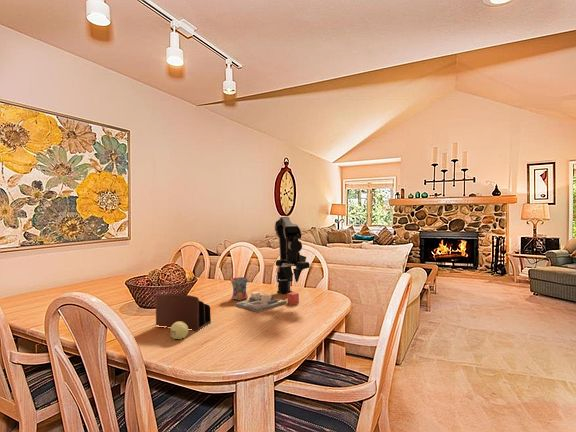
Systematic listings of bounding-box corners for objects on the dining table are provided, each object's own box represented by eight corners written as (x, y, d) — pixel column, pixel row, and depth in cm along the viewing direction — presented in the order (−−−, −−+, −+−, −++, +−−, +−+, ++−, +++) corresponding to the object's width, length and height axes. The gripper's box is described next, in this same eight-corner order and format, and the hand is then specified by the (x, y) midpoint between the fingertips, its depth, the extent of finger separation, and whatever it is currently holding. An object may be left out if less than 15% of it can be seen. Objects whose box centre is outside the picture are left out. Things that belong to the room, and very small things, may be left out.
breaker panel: (264, 297, 180) (264, 292, 180) (286, 303, 168) (286, 297, 168) (235, 305, 166) (235, 299, 166) (257, 312, 155) (257, 306, 155)
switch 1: (255, 298, 173) (255, 291, 173) (260, 299, 171) (259, 292, 171) (251, 299, 171) (250, 292, 171) (255, 301, 169) (255, 293, 169)
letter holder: (198, 331, 132) (197, 295, 131) (155, 328, 137) (154, 293, 137) (211, 323, 141) (210, 290, 141) (170, 320, 147) (169, 288, 146)
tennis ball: (167, 320, 125) (175, 324, 120) (184, 318, 130) (192, 322, 125) (165, 338, 124) (174, 342, 120) (182, 335, 129) (191, 340, 124)
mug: (244, 301, 173) (243, 281, 173) (227, 300, 176) (227, 280, 176) (253, 295, 185) (252, 276, 185) (237, 295, 188) (237, 276, 187)
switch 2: (265, 301, 168) (265, 294, 168) (270, 302, 165) (270, 295, 165) (261, 302, 166) (261, 295, 166) (266, 303, 163) (265, 296, 163)
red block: (293, 301, 171) (292, 291, 171) (298, 303, 168) (298, 293, 168) (287, 303, 168) (287, 293, 168) (293, 304, 165) (293, 294, 165)
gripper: (316, 249, 167) (317, 280, 167) (289, 247, 180) (290, 276, 180) (301, 251, 159) (302, 284, 159) (274, 249, 172) (275, 279, 172)
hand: (292, 281), depth 168 cm, fingers open, 5 cm apart
